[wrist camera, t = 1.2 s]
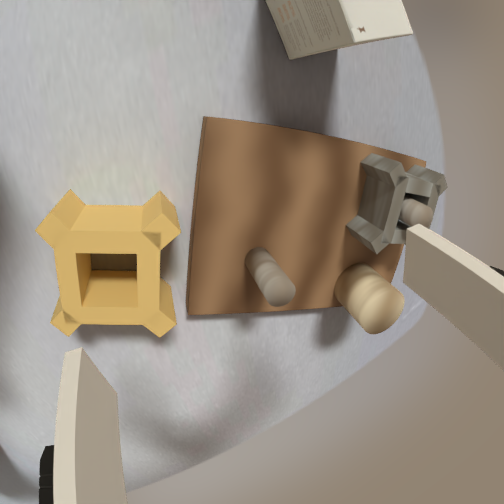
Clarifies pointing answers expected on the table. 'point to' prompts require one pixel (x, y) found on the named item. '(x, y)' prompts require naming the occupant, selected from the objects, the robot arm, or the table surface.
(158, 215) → the tan notched block
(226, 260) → the board
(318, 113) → the table surface
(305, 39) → the small box
